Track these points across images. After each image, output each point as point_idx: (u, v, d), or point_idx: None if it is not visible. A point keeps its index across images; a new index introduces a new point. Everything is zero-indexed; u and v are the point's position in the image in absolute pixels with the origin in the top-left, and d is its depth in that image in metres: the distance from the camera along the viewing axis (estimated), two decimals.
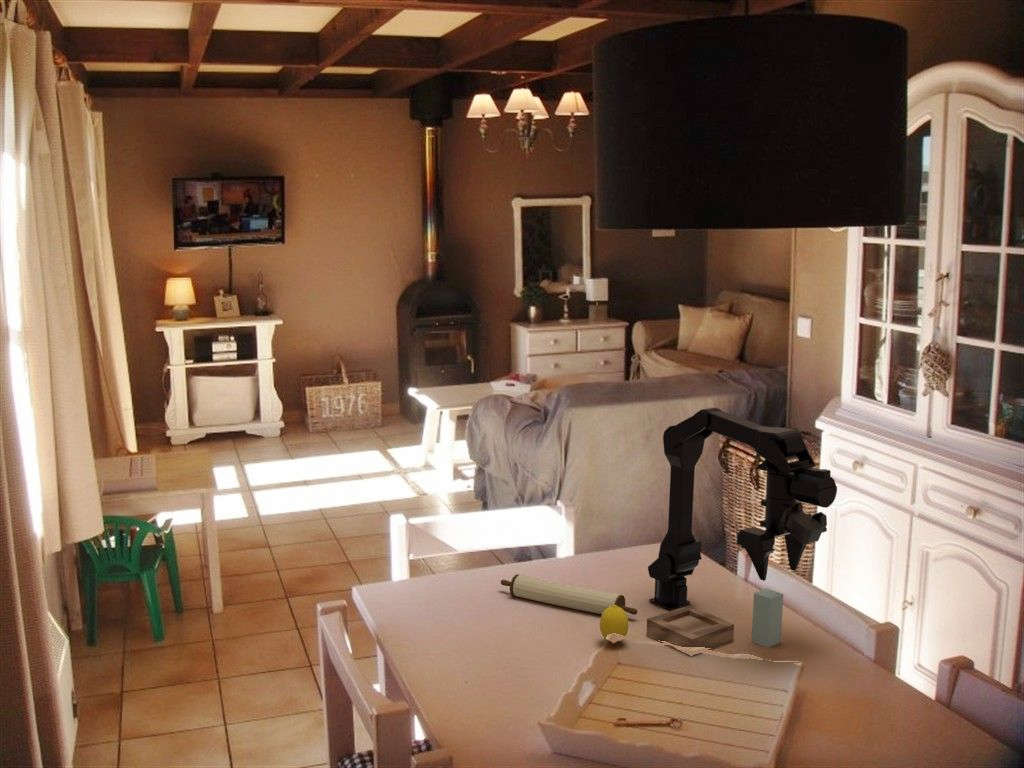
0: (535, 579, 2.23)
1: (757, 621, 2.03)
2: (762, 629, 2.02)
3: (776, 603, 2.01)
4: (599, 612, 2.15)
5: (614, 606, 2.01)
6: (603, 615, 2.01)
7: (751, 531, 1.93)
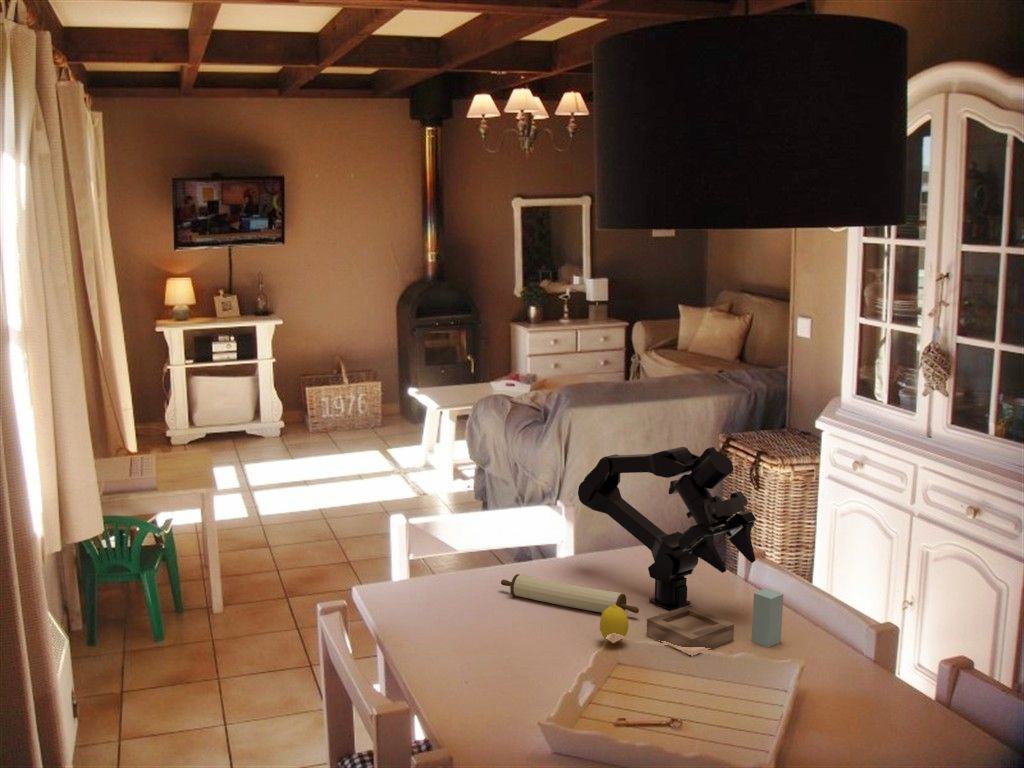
0: (536, 579, 2.24)
1: (757, 621, 2.03)
2: (762, 629, 2.02)
3: (776, 603, 2.01)
4: (601, 611, 2.16)
5: (614, 606, 2.01)
6: (603, 615, 2.01)
7: None
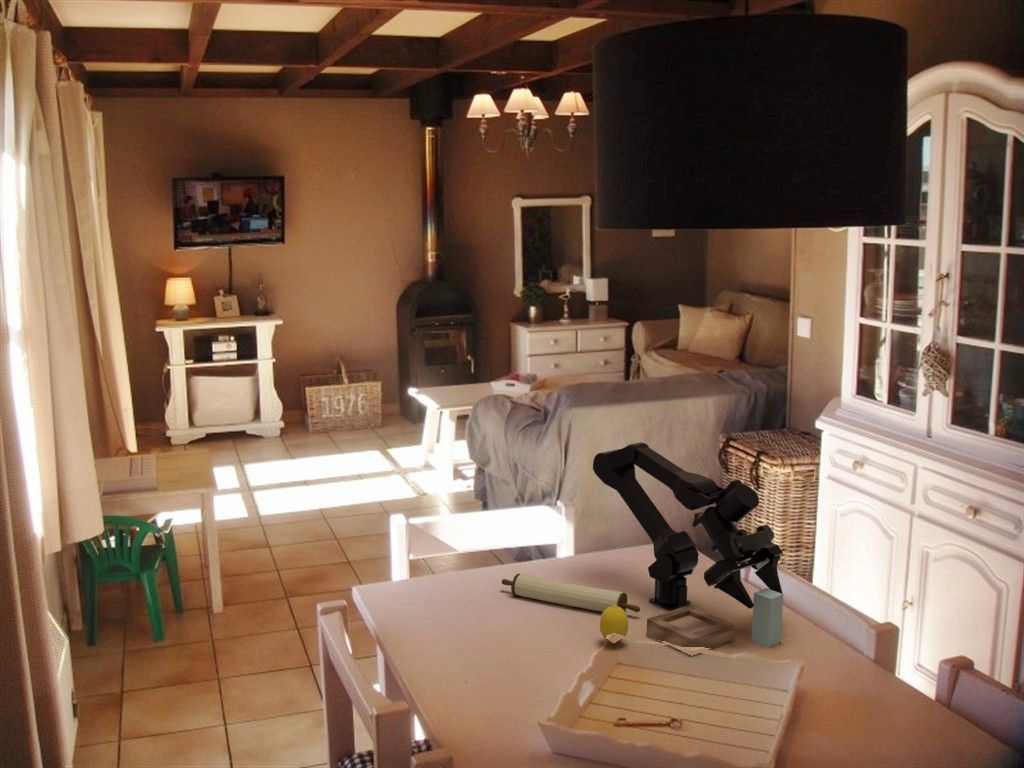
0: (537, 578, 2.24)
1: (757, 621, 2.03)
2: (762, 629, 2.02)
3: (776, 603, 2.01)
4: (602, 610, 2.16)
5: (614, 606, 2.01)
6: (603, 615, 2.01)
7: None
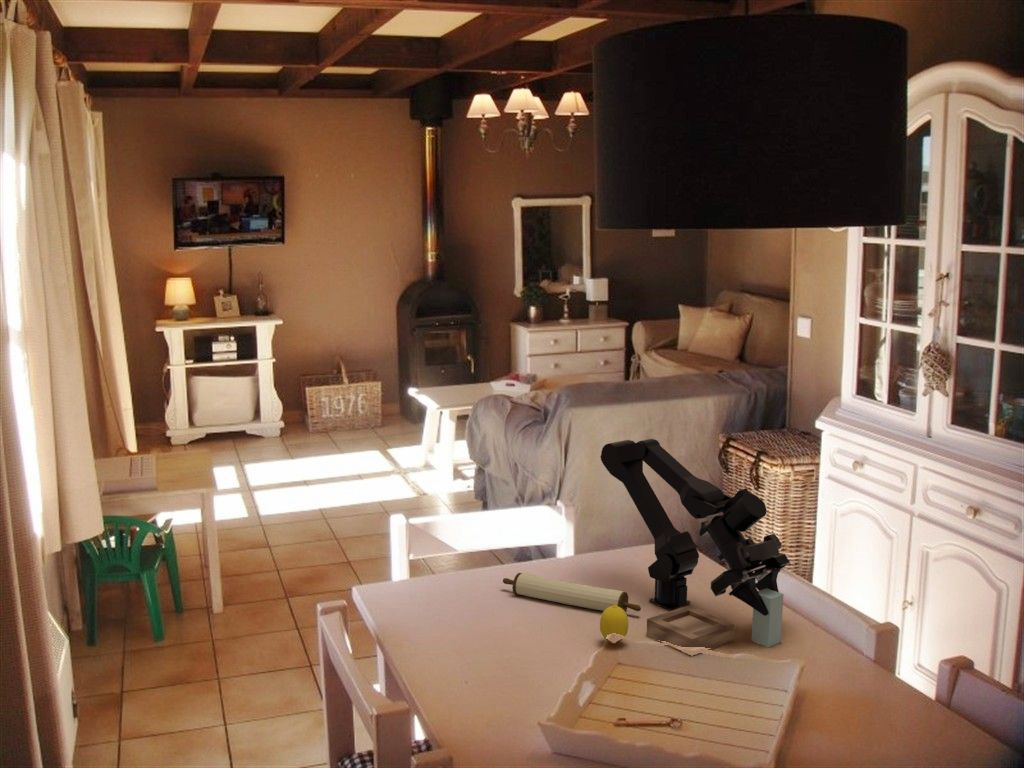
0: (538, 577, 2.25)
1: (757, 621, 2.03)
2: (762, 629, 2.02)
3: (776, 602, 2.01)
4: (603, 609, 2.17)
5: (614, 606, 2.01)
6: (603, 615, 2.01)
7: None
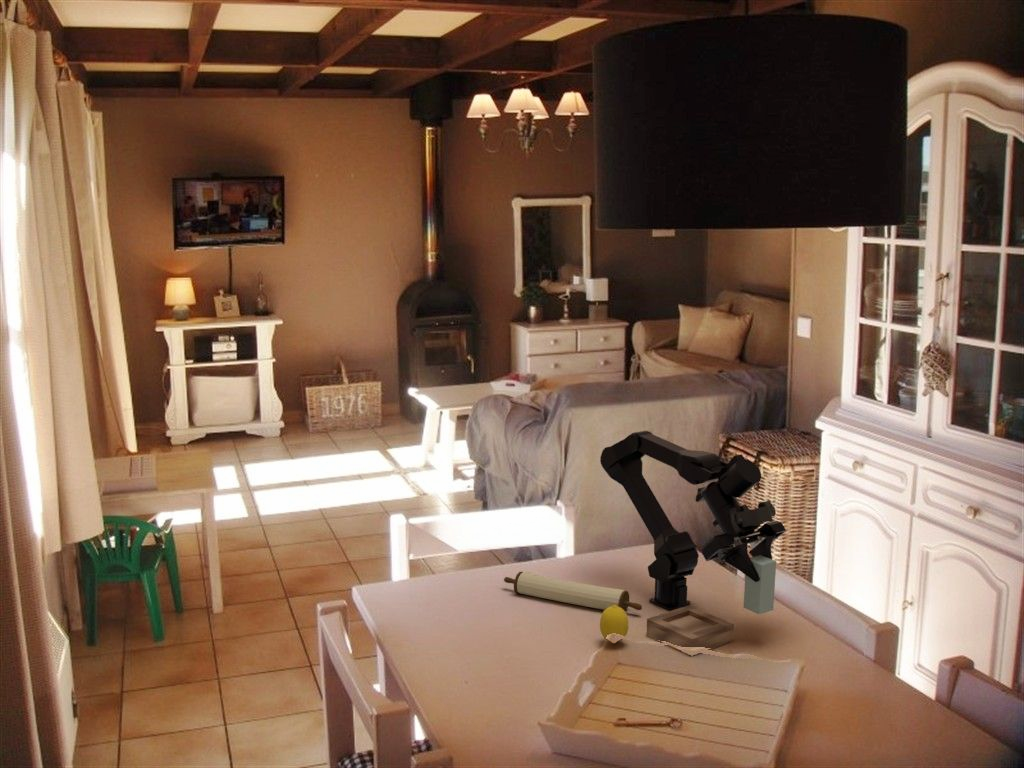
0: (539, 576, 2.25)
1: (749, 588, 2.01)
2: (754, 595, 2.00)
3: (768, 569, 1.99)
4: (604, 608, 2.17)
5: (614, 606, 2.01)
6: (603, 615, 2.01)
7: None
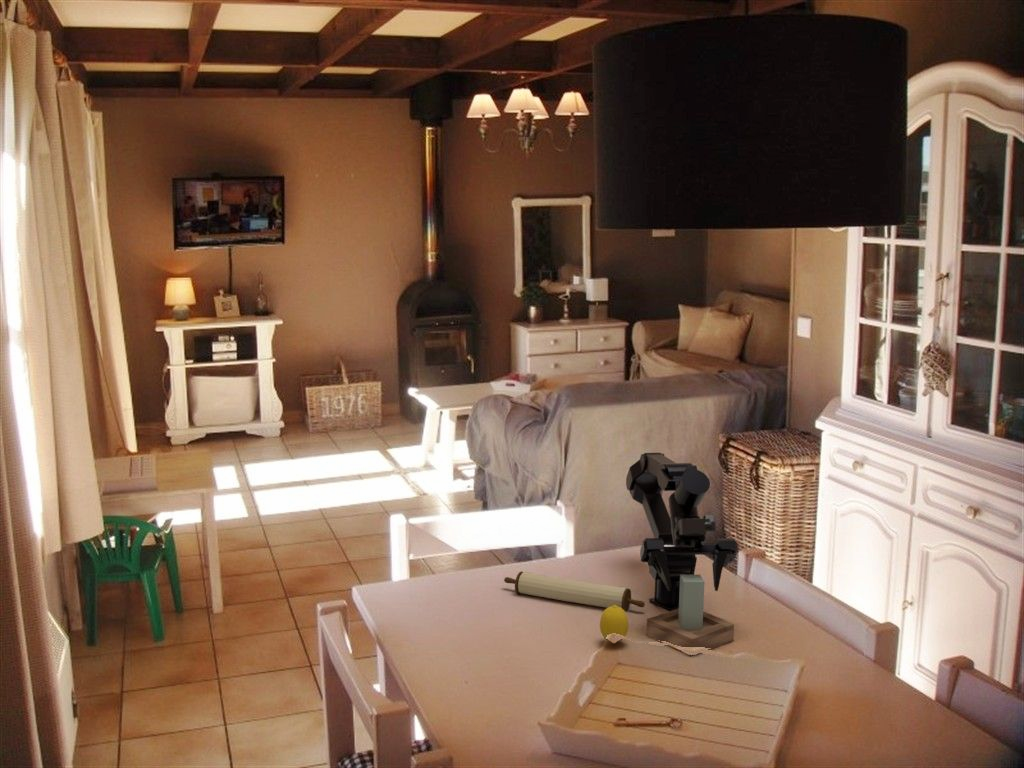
0: (540, 575, 2.26)
1: (680, 603, 2.05)
2: (681, 611, 2.04)
3: (693, 588, 2.01)
4: (606, 606, 2.19)
5: (614, 606, 2.01)
6: (603, 615, 2.01)
7: None
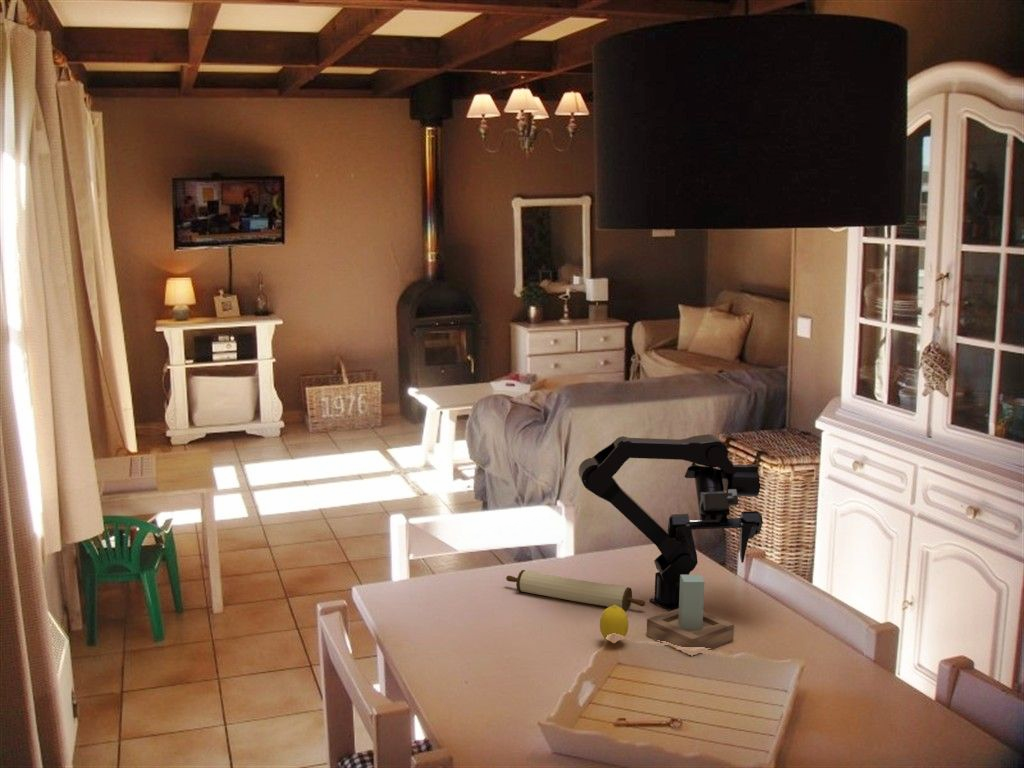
0: (541, 574, 2.26)
1: (680, 603, 2.05)
2: (681, 611, 2.04)
3: (693, 588, 2.01)
4: (607, 605, 2.19)
5: (614, 606, 2.01)
6: (603, 615, 2.01)
7: None
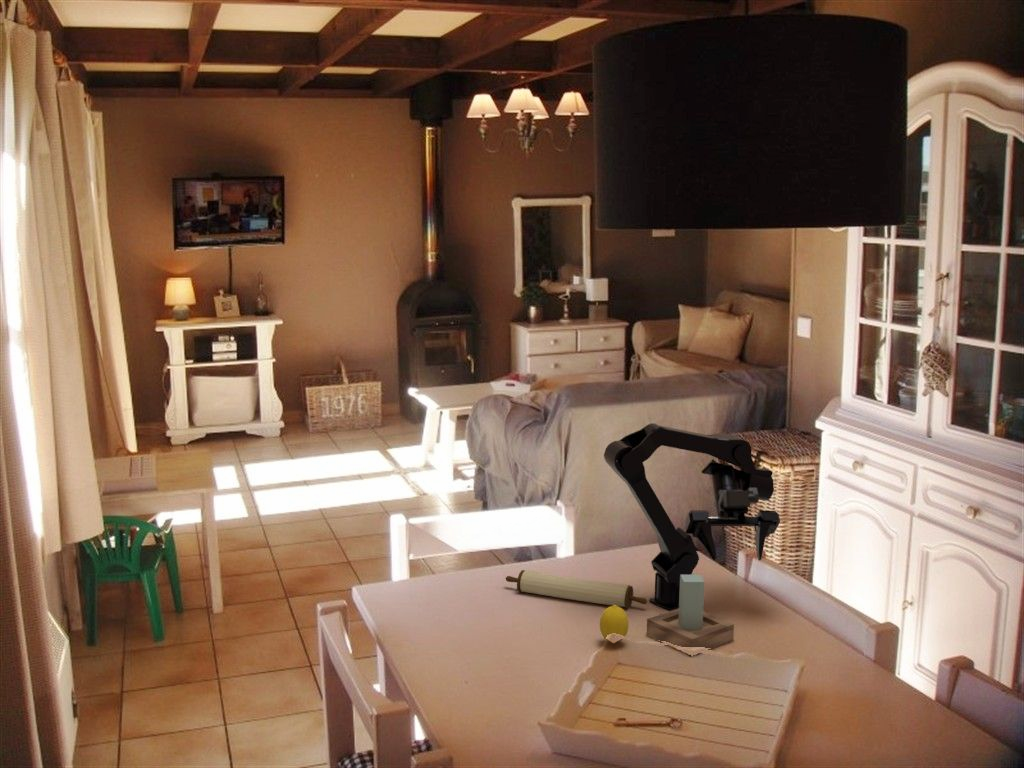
0: (542, 574, 2.27)
1: (680, 603, 2.05)
2: (681, 611, 2.04)
3: (693, 588, 2.01)
4: (609, 603, 2.20)
5: (614, 606, 2.01)
6: (603, 615, 2.01)
7: None
